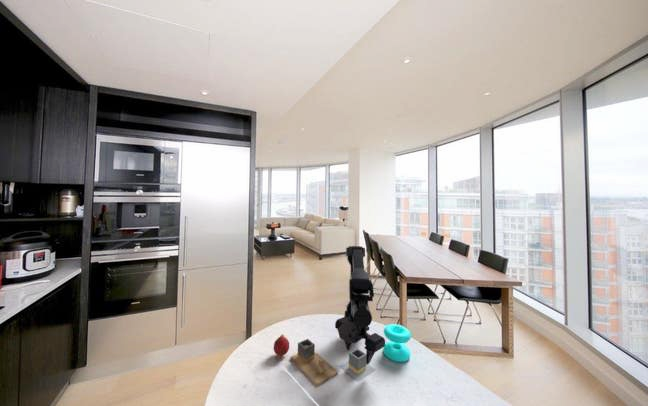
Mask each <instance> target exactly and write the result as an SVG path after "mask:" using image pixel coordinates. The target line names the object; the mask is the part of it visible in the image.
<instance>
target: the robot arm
mask: <svg viewBox="0 0 648 406" xmlns="http://www.w3.org/2000/svg"><path fill="white" fill-rule="evenodd" d="M345 257H347V258H346V259H347V262H348V264H349V265H350V269H349V270H350V271H349V272H350V273H349V274H350V275H349V276H350V277H349V280H348V293H349V295H348V296H349V300H348V302H347V305H346V310H344V315H343V317H340V318H338V319H336V320H335V322H334V323H335V326H334V328H335V329H337V332H338V336H339V339H340V340H343V341H344V343H345V347H346V351H350V350H351V345H352V344H356V343H357V342H359V341H361V340H364V345H365V346H364V347H363V348H364V349H365V350H366V351H365V354H366V362H367V364H369V365H370V363H371V362H372V359H373V358H374V355H375V353H376V352H378V351H379V350H381V349H383V347H384V346H385V344H386V338H385V337H383V336H382V335H380V334H378V333H377V332H374V333H372V334H370V333H368V331H370V325H371V324H372V321H373V316H372V312H371V310H370V306H369V302H373V300H374V299H373V298H374V297H375V292H374V283H373V282H372V280H370V276H369V275H370V274H369V273H368V272H367V271H366V270H365V264H364V258H365V257H366V248H365V247H363V246H360V245H358V246H357V245H352V246H351V245H349V246H347V247H346V248H345Z"/></svg>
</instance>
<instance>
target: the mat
mask: <svg viewBox="0 0 648 406" xmlns="http://www.w3.org/2000/svg"><path fill="white" fill-rule="evenodd" d="M339 367H340V368H341V369H342V370H344V372H345V373H347V374H348V375H349V376H351V377H352V378H353V379H355V381H357V382H358V383H359V382H361V381H362V380H363V379H365V378H366V377H368V376H369V375H370V374H372V373H373V372H375V371H376V368H374V367H373V366H371V365H370V363H369V364H367V367H366V369H365V370H364V371H362V372H361V373H359V374H357V373H356V372H354V371H353V370H352V369H351V368H349V360H348V361H346V362H344V363H342V364H340V365H339Z"/></svg>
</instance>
